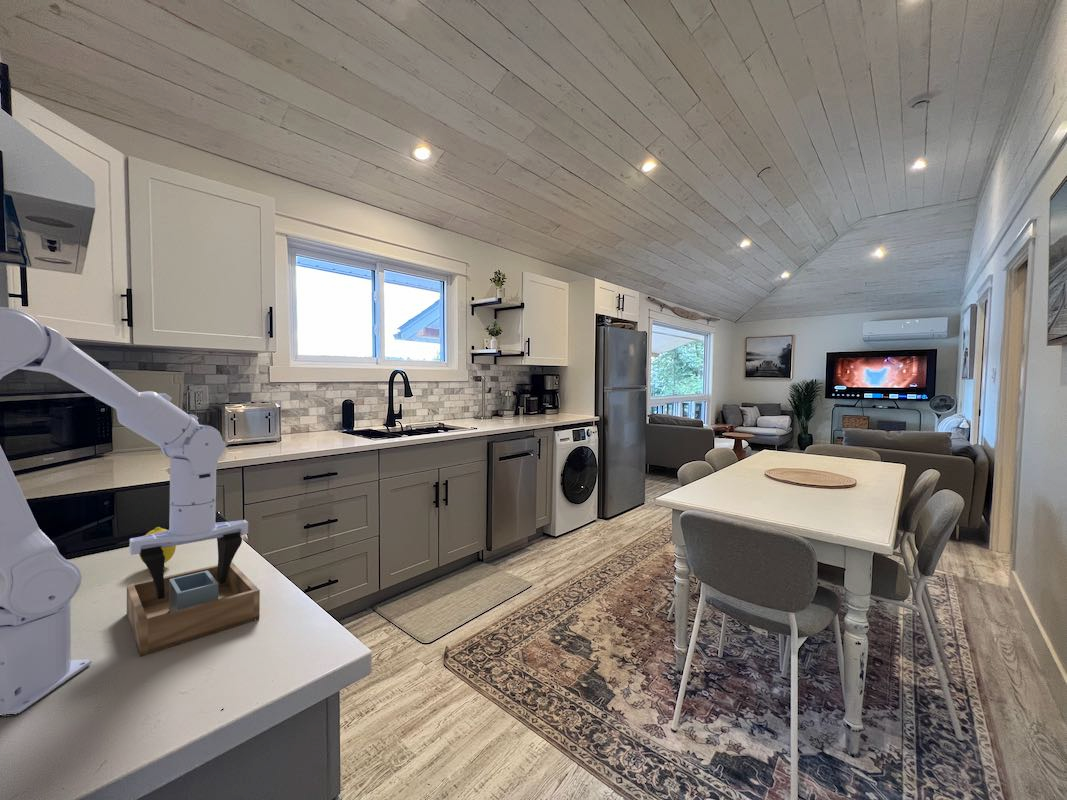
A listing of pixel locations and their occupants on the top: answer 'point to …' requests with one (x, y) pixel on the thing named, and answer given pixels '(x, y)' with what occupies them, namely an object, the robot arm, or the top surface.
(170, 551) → the lemon
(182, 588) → the small crate
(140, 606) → the big crate
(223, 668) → the top surface
